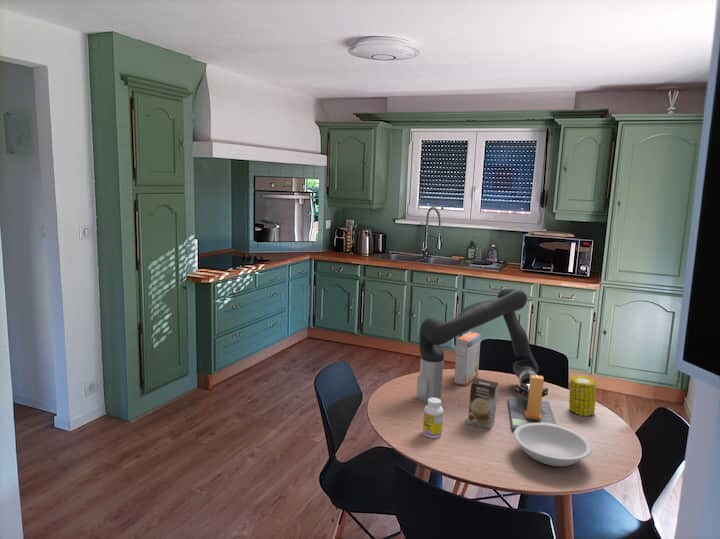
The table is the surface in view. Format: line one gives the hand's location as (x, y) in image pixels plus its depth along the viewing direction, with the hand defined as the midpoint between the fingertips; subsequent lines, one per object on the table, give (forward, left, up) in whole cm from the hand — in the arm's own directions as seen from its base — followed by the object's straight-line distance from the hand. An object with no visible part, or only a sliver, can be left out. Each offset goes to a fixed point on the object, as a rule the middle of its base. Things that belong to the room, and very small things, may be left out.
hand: (533, 398), depth 197 cm
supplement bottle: (-42, +9, -9) cm, 44 cm away
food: (+23, -5, -9) cm, 25 cm away
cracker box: (+5, +41, -9) cm, 42 cm away
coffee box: (-20, +7, -9) cm, 23 cm away
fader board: (+1, +1, -8) cm, 9 cm away
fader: (-1, -1, -7) cm, 7 cm away
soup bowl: (-18, -22, -9) cm, 29 cm away
